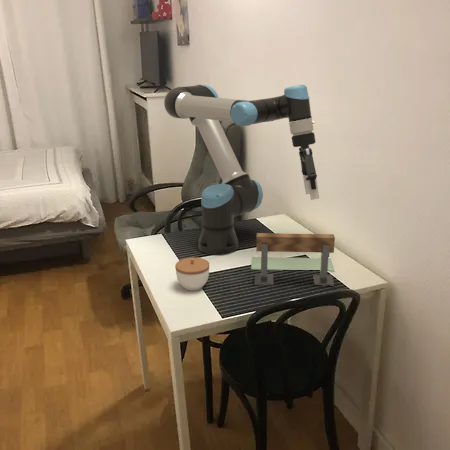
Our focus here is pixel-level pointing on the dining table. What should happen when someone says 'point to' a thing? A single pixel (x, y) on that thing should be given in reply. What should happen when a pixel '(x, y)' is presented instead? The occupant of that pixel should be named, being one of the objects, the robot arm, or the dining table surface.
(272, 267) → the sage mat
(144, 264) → the dining table surface
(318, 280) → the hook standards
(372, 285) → the dining table surface
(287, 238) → the walnut bar
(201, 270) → the lidded jar
